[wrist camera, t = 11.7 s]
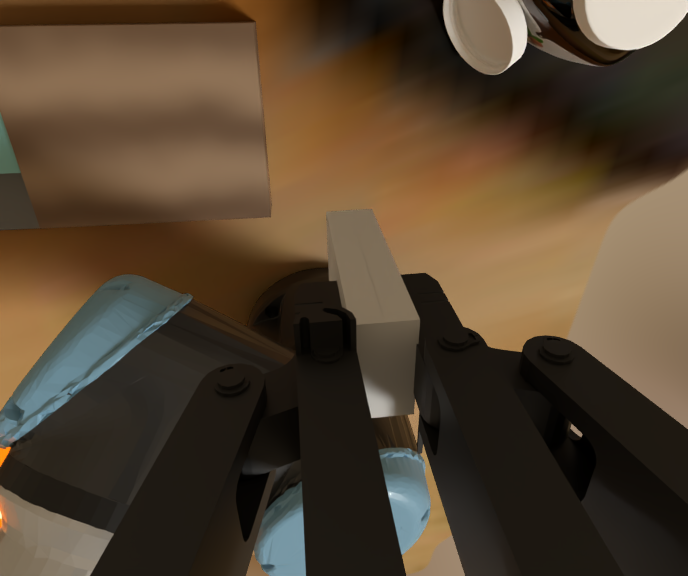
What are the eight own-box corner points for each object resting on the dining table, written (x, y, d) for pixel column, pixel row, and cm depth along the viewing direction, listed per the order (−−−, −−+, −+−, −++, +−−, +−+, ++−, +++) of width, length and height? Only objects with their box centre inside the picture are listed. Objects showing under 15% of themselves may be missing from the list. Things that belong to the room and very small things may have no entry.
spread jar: (628, -21, 37) (755, -29, 27) (527, 112, 42) (605, 147, 32) (514, -136, 33) (615, -196, 23) (415, 25, 37) (463, 33, 27)
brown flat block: (271, 204, 43) (271, 217, 40) (55, 214, 41) (40, 228, 39) (255, 21, 36) (253, 23, 33) (-6, 25, 34) (-29, 27, 32)
